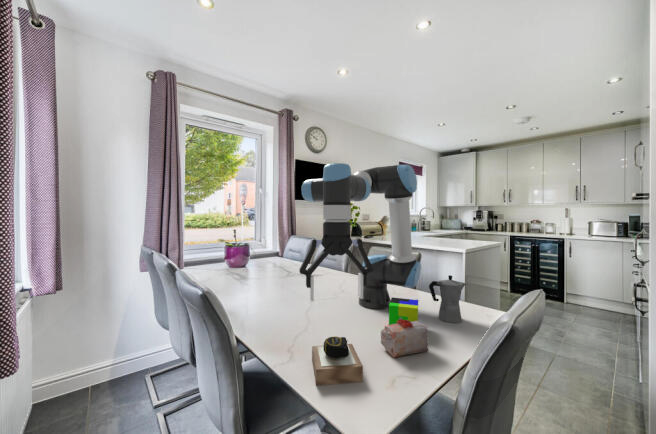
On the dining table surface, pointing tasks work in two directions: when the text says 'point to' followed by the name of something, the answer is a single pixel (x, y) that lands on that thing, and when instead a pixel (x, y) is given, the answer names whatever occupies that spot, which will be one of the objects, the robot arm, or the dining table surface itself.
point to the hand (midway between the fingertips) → (336, 298)
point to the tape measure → (336, 347)
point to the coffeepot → (448, 299)
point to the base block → (336, 367)
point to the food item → (404, 338)
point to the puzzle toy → (403, 310)
